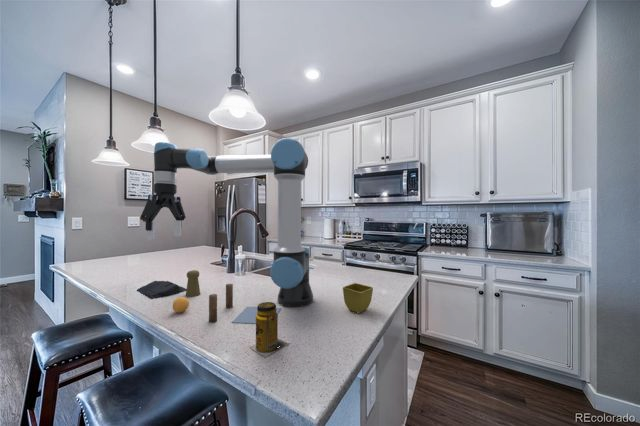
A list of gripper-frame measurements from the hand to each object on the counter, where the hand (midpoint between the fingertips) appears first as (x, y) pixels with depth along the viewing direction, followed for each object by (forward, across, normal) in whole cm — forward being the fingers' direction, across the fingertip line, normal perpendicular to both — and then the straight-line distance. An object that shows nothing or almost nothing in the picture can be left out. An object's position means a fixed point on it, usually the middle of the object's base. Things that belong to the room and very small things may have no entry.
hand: (165, 237), depth 96 cm
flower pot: (+28, -10, +75) cm, 81 cm away
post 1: (+28, +7, +25) cm, 38 cm away
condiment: (+28, +19, +50) cm, 60 cm away
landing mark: (+28, 0, +39) cm, 47 cm away
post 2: (+28, -5, +24) cm, 37 cm away
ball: (+25, +2, +9) cm, 26 cm away
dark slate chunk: (+29, -19, -18) cm, 39 cm away
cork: (+28, -16, 0) cm, 32 cm away
